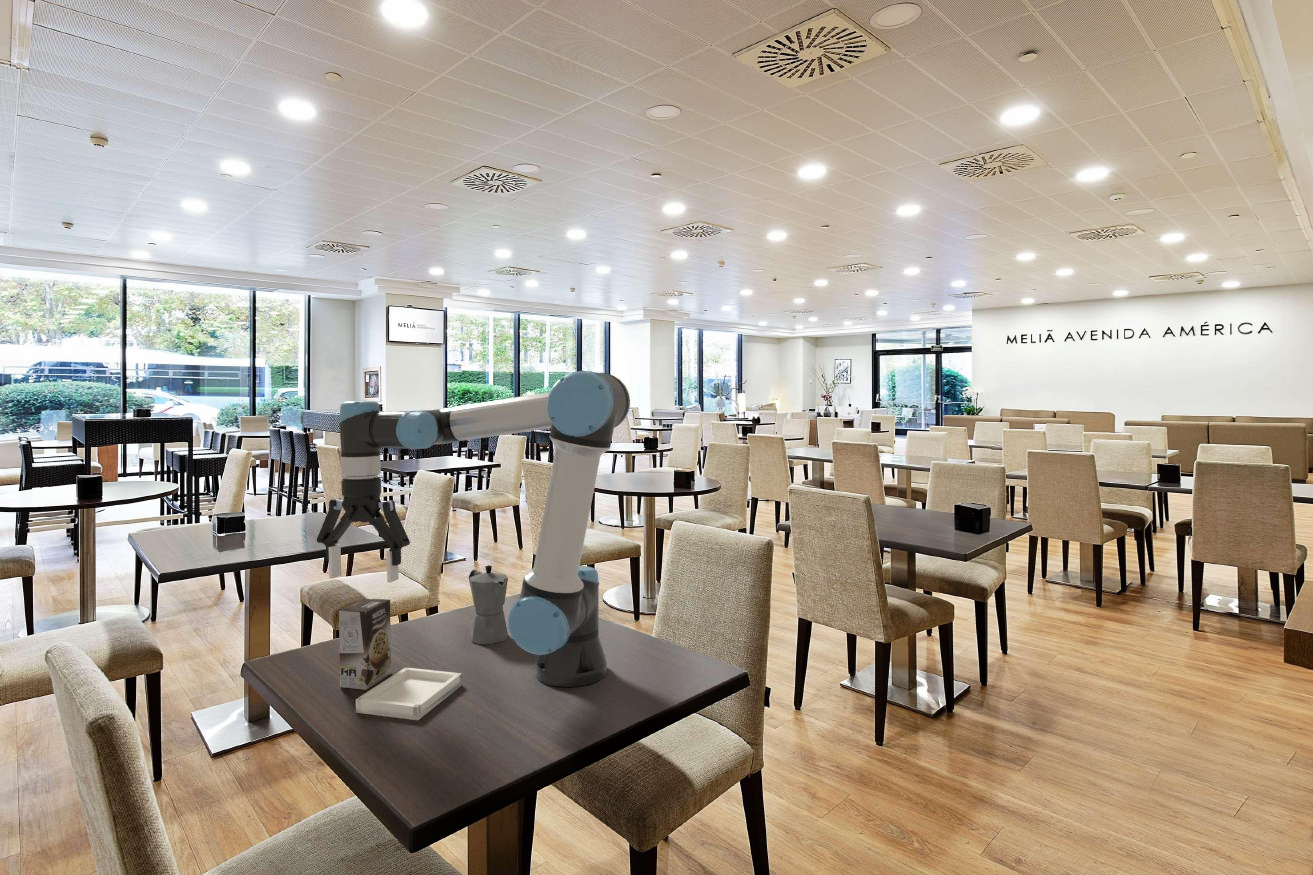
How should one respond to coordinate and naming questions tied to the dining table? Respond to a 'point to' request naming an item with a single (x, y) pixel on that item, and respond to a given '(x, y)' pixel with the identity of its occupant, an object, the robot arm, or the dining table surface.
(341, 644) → the coffee box
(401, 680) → the tray
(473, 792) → the dining table surface
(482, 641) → the coffeepot
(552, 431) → the robot arm
